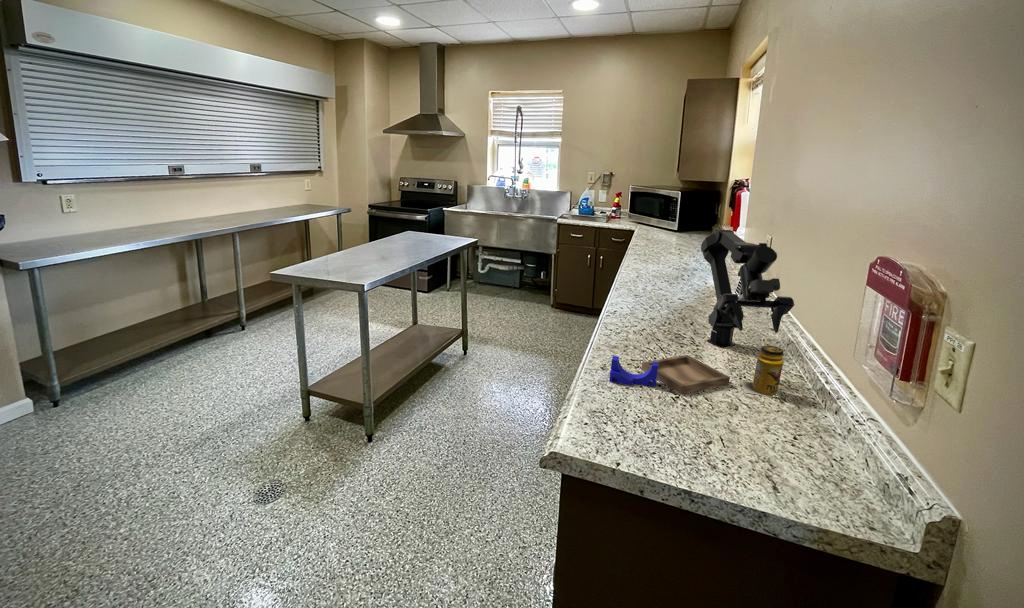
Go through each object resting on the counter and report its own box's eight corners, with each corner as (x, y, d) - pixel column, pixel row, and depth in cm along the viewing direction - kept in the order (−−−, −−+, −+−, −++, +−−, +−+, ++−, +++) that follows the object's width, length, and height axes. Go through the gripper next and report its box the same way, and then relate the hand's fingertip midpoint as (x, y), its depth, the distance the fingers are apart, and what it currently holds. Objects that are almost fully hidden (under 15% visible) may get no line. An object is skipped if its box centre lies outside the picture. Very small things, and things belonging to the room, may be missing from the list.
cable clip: (609, 382, 135) (611, 361, 134) (611, 375, 139) (613, 355, 138) (655, 389, 132) (657, 368, 130) (656, 382, 136) (658, 362, 134)
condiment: (780, 398, 128) (789, 355, 125) (745, 393, 131) (752, 350, 127) (775, 386, 135) (783, 345, 132) (741, 381, 137) (748, 340, 134)
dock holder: (686, 361, 150) (687, 354, 149) (728, 384, 135) (730, 377, 135) (641, 369, 143) (642, 362, 143) (680, 394, 129) (681, 386, 128)
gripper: (726, 265, 138) (732, 315, 131) (798, 268, 136) (808, 320, 129) (715, 285, 148) (720, 333, 140) (781, 289, 146) (790, 338, 138)
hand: (758, 331), depth 137 cm, fingers open, 9 cm apart
